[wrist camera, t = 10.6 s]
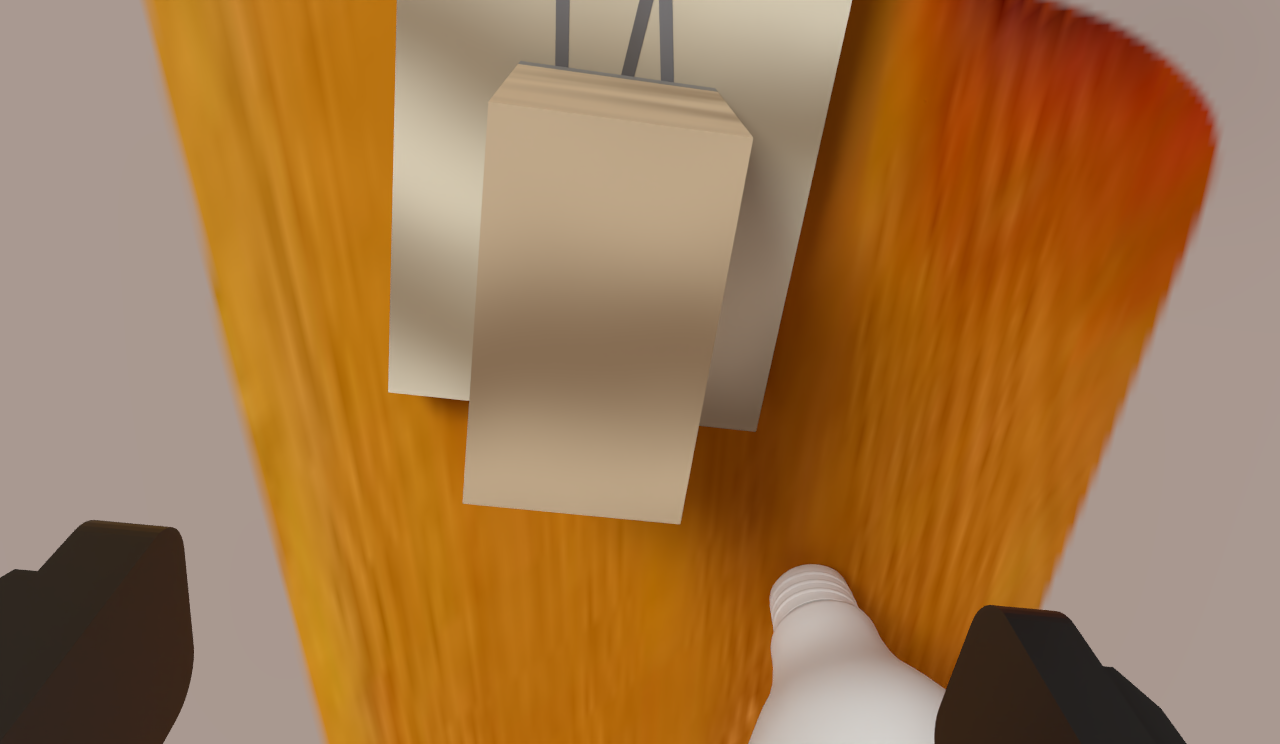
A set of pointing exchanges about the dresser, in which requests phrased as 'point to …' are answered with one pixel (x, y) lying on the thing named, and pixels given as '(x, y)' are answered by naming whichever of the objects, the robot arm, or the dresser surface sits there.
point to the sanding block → (598, 289)
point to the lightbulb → (838, 671)
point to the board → (618, 44)
